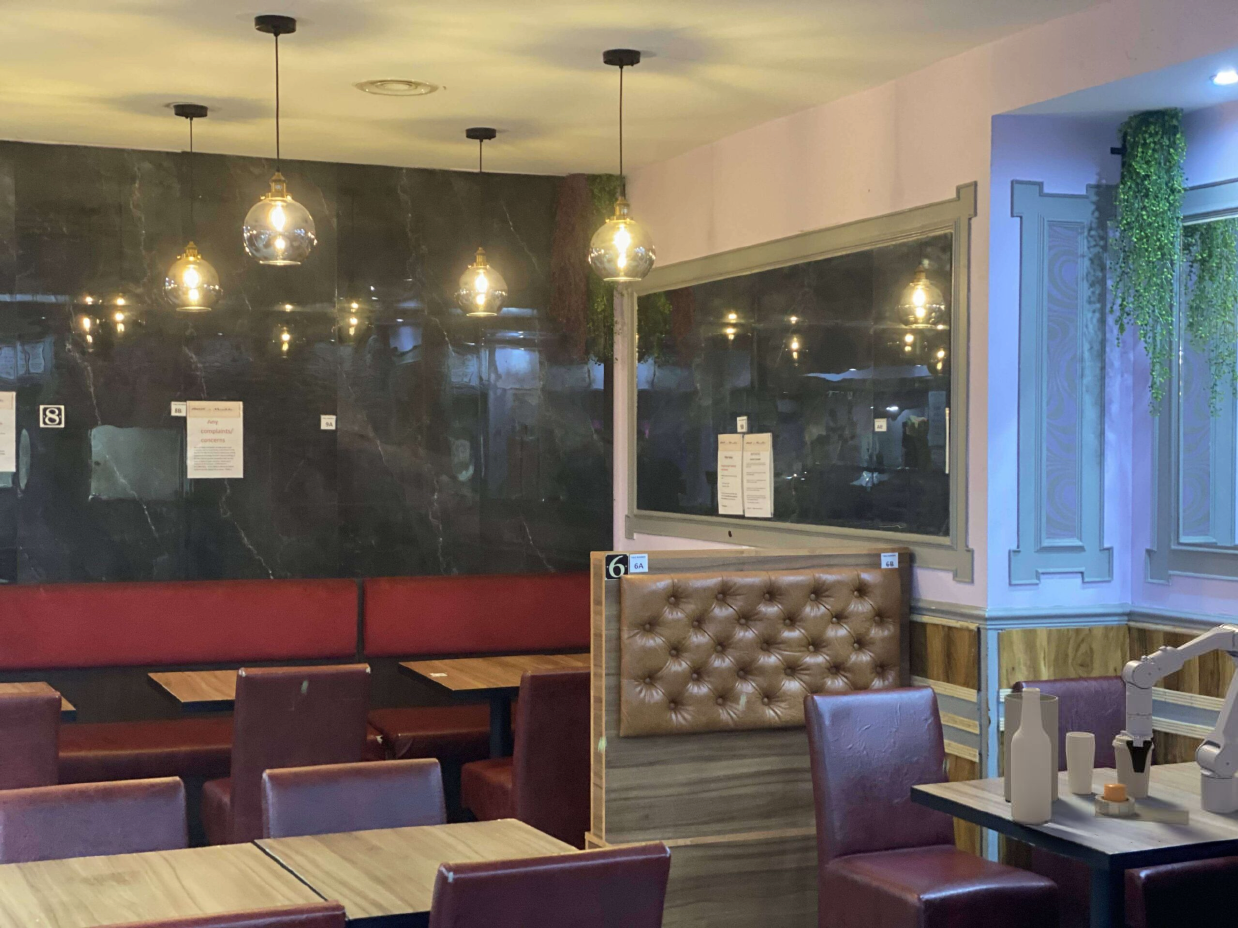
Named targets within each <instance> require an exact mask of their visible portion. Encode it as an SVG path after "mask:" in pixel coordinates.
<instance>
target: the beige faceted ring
mask: <svg viewBox="0 0 1238 928" xmlns="http://www.w3.org/2000/svg"><path fill="white" fill-rule="evenodd" d="M1135 806H1136V798H1132V797H1129V796H1126V801H1124V802H1116V801H1108V800H1104V793H1102V794H1097V795H1095V797H1094V811H1096V812H1098V813H1101V814H1105V815H1112V816H1130V815H1134V814H1135Z"/></svg>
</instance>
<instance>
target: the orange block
mask: <svg viewBox="0 0 1238 928" xmlns="http://www.w3.org/2000/svg"><path fill="white" fill-rule="evenodd" d="M1103 787H1104V788H1103V794H1104V800H1108V801H1116V802H1124V801H1126V785H1123V784H1118V782H1109V783H1108V782H1106V783H1104V785H1103Z"/></svg>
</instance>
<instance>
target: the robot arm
mask: <svg viewBox="0 0 1238 928" xmlns="http://www.w3.org/2000/svg"><path fill="white" fill-rule="evenodd" d="M1214 650H1222V651H1224V652H1225V653H1226V654H1227V655H1228V656H1229V657H1230V659H1231V660H1232V663H1234V666H1235V667H1236V668H1235V671H1234V673H1233V676H1232V679H1231V681H1230V684H1229V687H1228V689H1227V693H1226V695H1225V698H1224V702H1223V703H1222V707H1221V709H1220V712H1219V716H1218V717H1217V721H1216V722H1215V723H1216V724H1215V725H1214V728H1213V730H1212V731H1210V732H1209V733H1207V734H1206V735H1205V737H1204V740H1203V742H1202V743H1201V744H1200V745H1199V746H1198V747H1197V749H1196V750H1195V753H1194V759H1195V761H1196V763H1197V765H1198V766H1199V767H1200V809H1201V810H1202V811H1206V812H1210V813H1219V814H1228V813H1229V814H1230V813H1233V812H1235V811H1237V810H1238V776H1237V775H1235V774H1237V772H1238V624H1235V623H1231V622H1226V623H1223V624H1221V625H1220V626H1216V627H1213V628H1212V629H1210V630H1209V631H1207V632H1205V633H1203V634H1202V635H1200V636H1198V637H1195V638H1194V639H1192V640H1190V641H1188V642H1187V643H1185V644H1183V645H1180V646H1179V647H1177V648H1176V647H1173V646H1164V645H1162V646H1160V647H1159V648H1158V651H1156V652H1154V653H1151V654H1149V655H1143V656H1140V660H1136V659H1135V660H1130V661H1128V662H1127V663H1126V664H1125V666H1124V667H1123V669H1122V671H1121V673H1120V675H1121V678H1122V680H1123V681H1124V682H1125V730H1120V735H1126V736H1127V737H1129V738H1131V739H1132V740H1127V741H1126V745H1127V747H1128V749H1129V752H1130V755H1131V759H1132V765H1133V769H1134V772H1135V773H1144V770H1145V765H1146V759H1147V755H1148V752H1149V750H1150V748H1151V746H1152V742H1153V741H1152V739H1151V740H1146V739H1149V738H1153V737H1154V733H1153V686H1155V685H1156V684H1157V681H1158V680H1160V679H1163V678H1164V677H1166V676H1169V675H1170V674H1173V673H1175V672H1177V671H1179V670H1182V668H1183V665H1184V663H1185V662H1186V661H1189V660H1191V659H1195V658H1196V657H1199V656H1201V655H1204V654H1207V653H1209V652H1211V651H1214Z"/></svg>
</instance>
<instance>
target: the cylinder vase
mask: <svg viewBox="0 0 1238 928" xmlns="http://www.w3.org/2000/svg"><path fill="white" fill-rule="evenodd" d="M1022 694H1023V692H1012V693H1006V694H1004V696H1003V697H1004V699H1003V701H1004V702H1003V706H1004V707H1003V708H1004V709H1003V711H1004V712H1003V717H1004V719H1003V725H1004V726H1003V727H1004V728H1003V741H1004V742H1003V750H1004V751H1003V759H1004V760H1003V761H1004V762H1003V767H1004V768H1003V769H1004V770H1003V775H1004V776H1003V785H1004V787H1003V797H1004V798H1005V799H1006V801H1008V802H1009V803H1011V743H1012V739H1013V736H1014V734H1015V733H1016V732H1017V731H1018V730H1019V728H1020V725H1021V714H1022V702H1023V696H1022ZM1040 707H1041V720H1042V727H1043V730H1044V732H1045V733H1046V734H1047V735H1048V737H1049V738H1050V742H1051V803H1052V802H1056V801H1058V800H1059V697H1057V696H1055V695H1052V694H1046V693H1040Z"/></svg>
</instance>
